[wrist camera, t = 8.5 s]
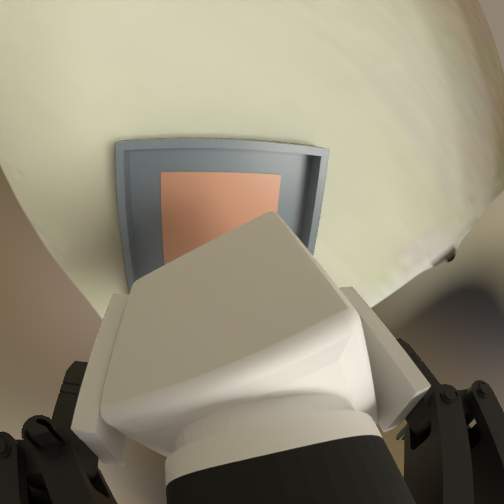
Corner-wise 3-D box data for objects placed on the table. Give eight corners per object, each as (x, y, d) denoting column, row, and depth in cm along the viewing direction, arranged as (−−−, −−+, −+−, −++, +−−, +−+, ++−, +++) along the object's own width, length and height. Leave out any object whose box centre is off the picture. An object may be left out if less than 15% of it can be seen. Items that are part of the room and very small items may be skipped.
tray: (124, 140, 18) (115, 142, 15) (316, 146, 21) (329, 149, 18) (137, 297, 24) (133, 314, 21) (294, 293, 27) (302, 308, 24)
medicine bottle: (130, 280, 12) (84, 577, 1) (274, 205, 11) (499, 517, 1) (208, 370, 15) (241, 571, 4) (321, 318, 15) (428, 514, 4)
